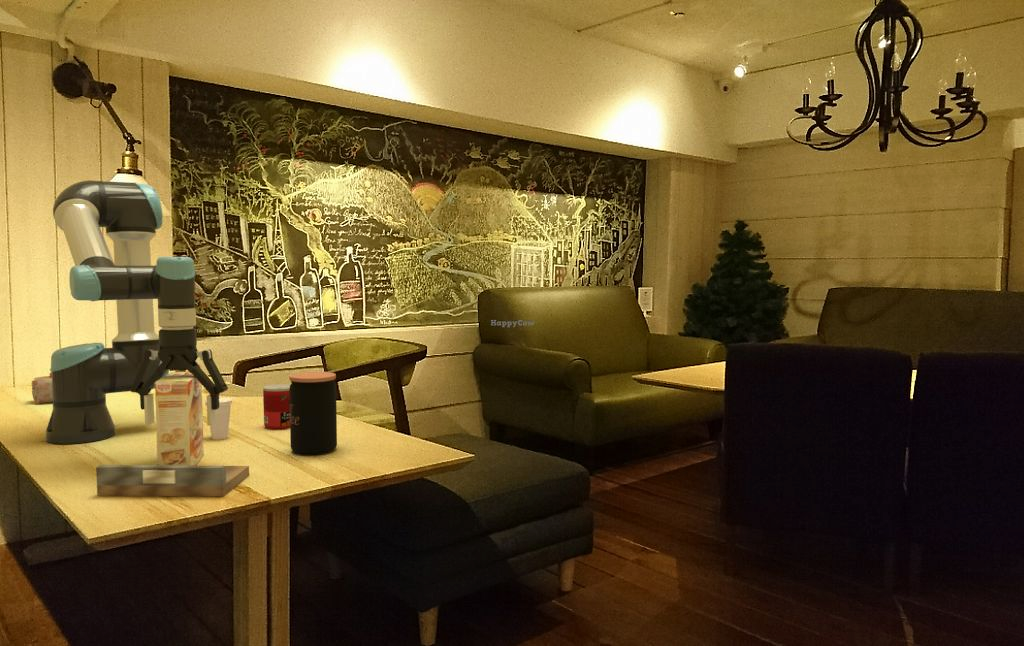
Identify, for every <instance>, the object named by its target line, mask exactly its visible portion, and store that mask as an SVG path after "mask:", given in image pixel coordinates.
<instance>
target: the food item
mask: <svg viewBox="0 0 1024 646" xmlns="http://www.w3.org/2000/svg"><path fill="white" fill-rule="evenodd" d="M31 395H32V399H33V401H34V403H35V404H36V405H49V404H53V400H52V374H51V372H49V375H46V376H38V377H34V380H31Z"/></svg>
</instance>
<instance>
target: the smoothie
mask: <svg viewBox="0 0 1024 646" xmlns="http://www.w3.org/2000/svg"><path fill="white" fill-rule="evenodd" d="M232 404H233V399H232V398H230V397H219V408H218V409H216V410H215V414H216V423H215V424H213V425H211V426H209V429H210V435H211V439H212V440H215V441H216V440H217V441H218V440H226V439H227V438H228V436H229V435H228V434H229V426H230V419H231V418H230V417H231V410H232V409H231V408H232ZM204 405H205V406H206V407H207V399H205V404H204Z"/></svg>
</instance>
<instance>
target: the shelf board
mask: <svg viewBox="0 0 1024 646" xmlns="http://www.w3.org/2000/svg"><path fill="white" fill-rule="evenodd" d="M95 474H96V496H99V497H100V496H101V497H105V496H106V497H107V496H108V497H109V496H111V497H113V496H114V497H115V496H116V497H122V496H123V497H129V496H130V497H147V496H148V497H224V496H226V495H227V494H228V493H229V492H231V491H232V490H233V489H234V488H235V487H237V486H238V485H240V484H241V483H242V482H243V481H244V480H245V479H247V478H248V477H250V465H196V466H179V465H154V464H153V465H148V464H147V465H145V464H140V465H139V464H135V465H134V464H133V465H132V464H127V465H126V464H125V465H124V464H122V465H121V464H119V465H118V464H115V465H114V464H99V465H97V466H96V467H95Z"/></svg>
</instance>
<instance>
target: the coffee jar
mask: <svg viewBox="0 0 1024 646" xmlns="http://www.w3.org/2000/svg"><path fill="white" fill-rule="evenodd" d="M336 378H337V375H336V373H335V372H329V371H307V372H306V371H304V372H297V373H292V374H290V375H289V381H290V383H291V384H289V385H290V388H289V390H290V428H289V429H290V430H289V434H290V437H289V438H290V449H291V450H292V452H293V453H294V454H296V455H299V456H319V455H325V454H330V453H333V451H335V449H336V448H337V446H338V431H337V430H338V422H337V421H338V420H337V419H338V417H337V416H338V415H337V384H336V382H335V380H336Z"/></svg>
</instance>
